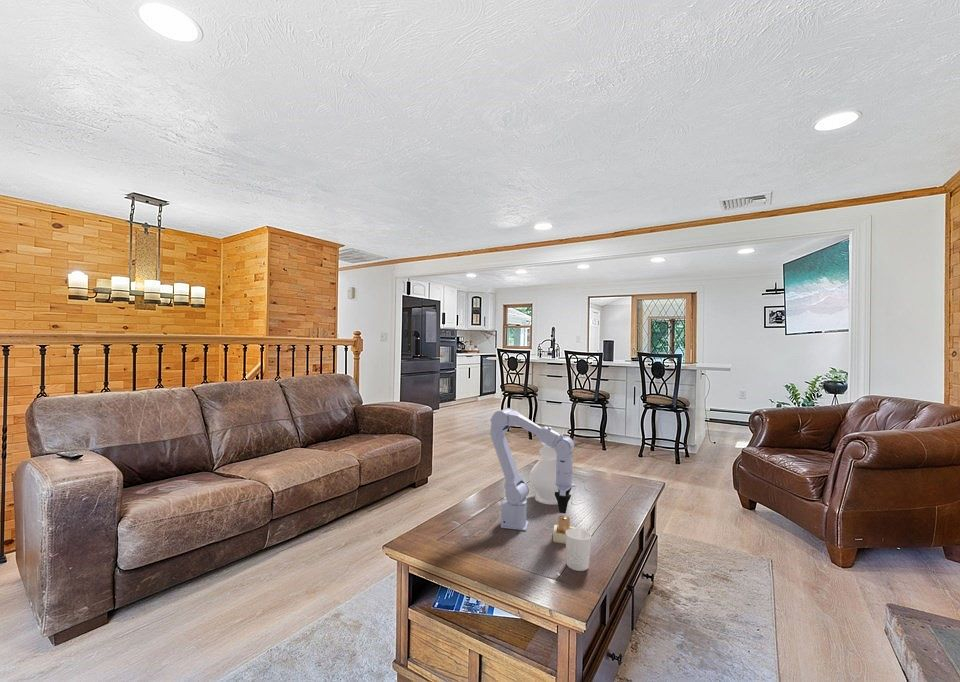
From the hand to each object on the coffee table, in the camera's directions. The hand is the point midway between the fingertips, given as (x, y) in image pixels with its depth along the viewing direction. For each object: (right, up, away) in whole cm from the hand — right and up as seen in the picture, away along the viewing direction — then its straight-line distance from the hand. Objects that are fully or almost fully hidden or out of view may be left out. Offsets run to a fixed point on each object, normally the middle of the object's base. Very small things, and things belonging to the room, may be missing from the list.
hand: (563, 508), depth 155 cm
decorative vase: (+1, -10, +36) cm, 37 cm away
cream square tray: (0, -10, -2) cm, 10 cm away
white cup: (+1, -10, -20) cm, 22 cm away
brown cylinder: (0, -9, -2) cm, 10 cm away
